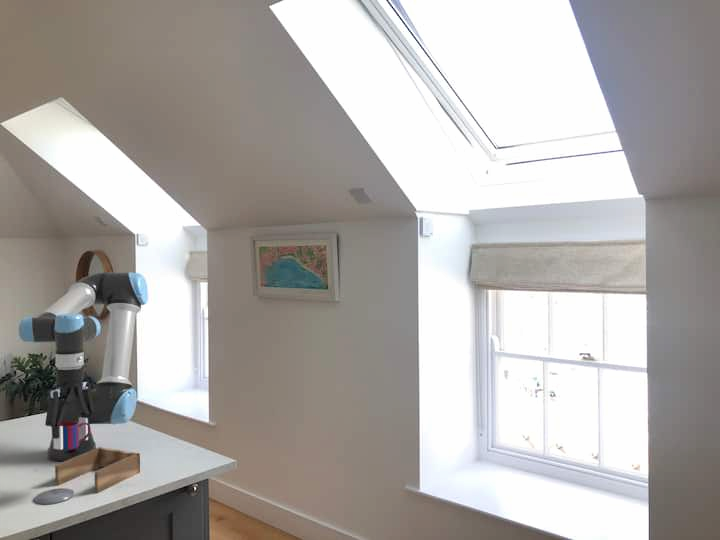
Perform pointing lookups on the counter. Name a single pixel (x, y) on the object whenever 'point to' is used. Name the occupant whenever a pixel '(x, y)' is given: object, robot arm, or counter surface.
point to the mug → (72, 434)
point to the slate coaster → (54, 496)
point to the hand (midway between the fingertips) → (71, 443)
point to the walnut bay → (112, 460)
